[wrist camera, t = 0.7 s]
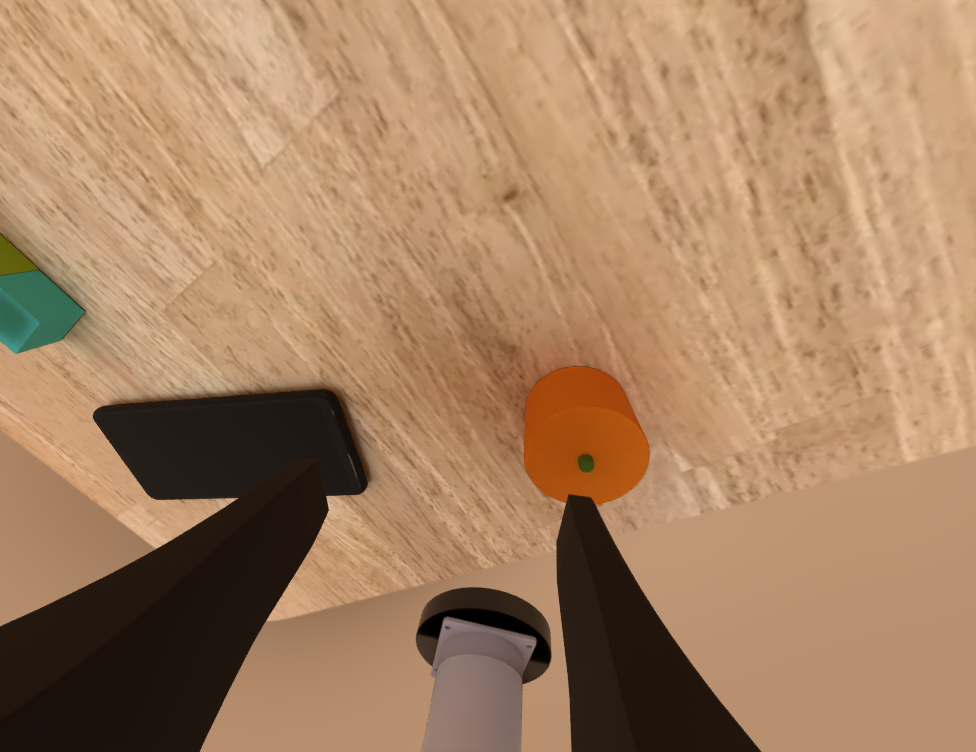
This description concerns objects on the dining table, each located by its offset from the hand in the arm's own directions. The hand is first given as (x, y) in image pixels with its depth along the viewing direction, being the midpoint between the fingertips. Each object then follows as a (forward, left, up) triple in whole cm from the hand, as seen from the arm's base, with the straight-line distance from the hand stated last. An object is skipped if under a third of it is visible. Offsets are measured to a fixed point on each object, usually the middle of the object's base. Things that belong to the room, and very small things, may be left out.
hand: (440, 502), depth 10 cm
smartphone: (-8, +13, -8) cm, 17 cm away
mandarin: (-1, -5, -8) cm, 10 cm away
